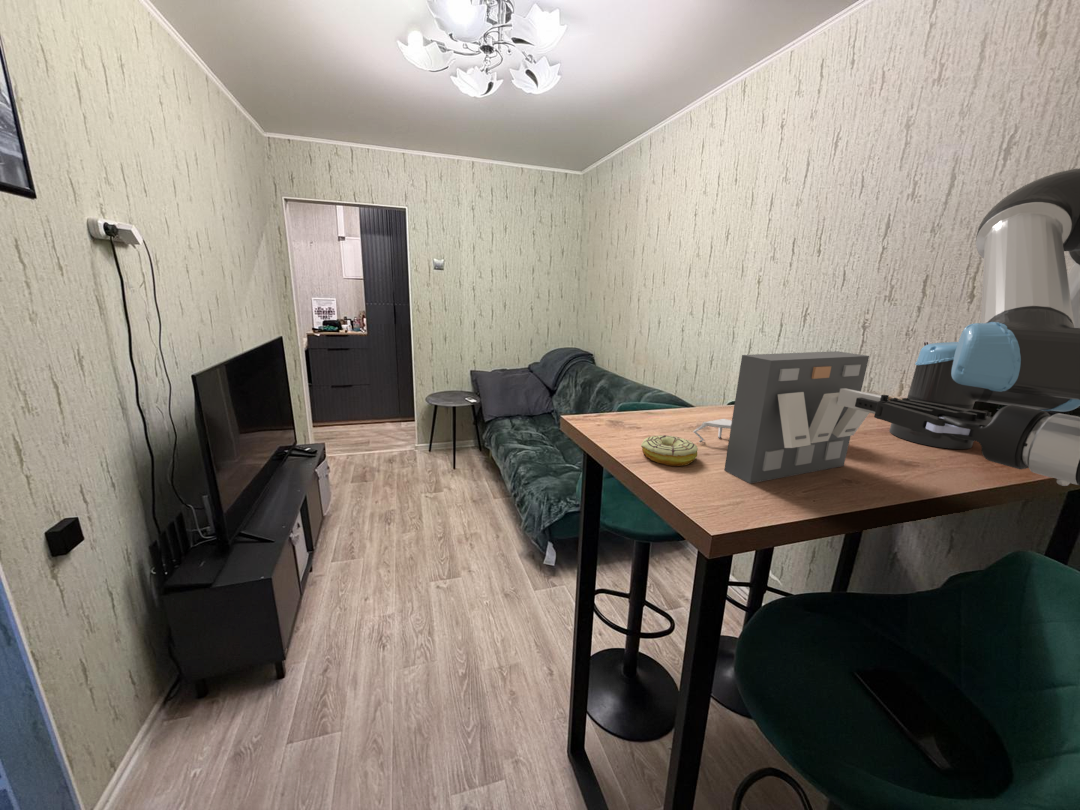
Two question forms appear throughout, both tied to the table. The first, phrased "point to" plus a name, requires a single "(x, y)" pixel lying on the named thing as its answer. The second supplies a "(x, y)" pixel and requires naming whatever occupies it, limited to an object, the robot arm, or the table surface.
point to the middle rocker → (825, 418)
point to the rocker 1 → (794, 420)
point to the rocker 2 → (850, 421)
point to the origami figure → (716, 423)
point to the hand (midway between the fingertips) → (841, 396)
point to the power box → (758, 413)
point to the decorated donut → (669, 450)
